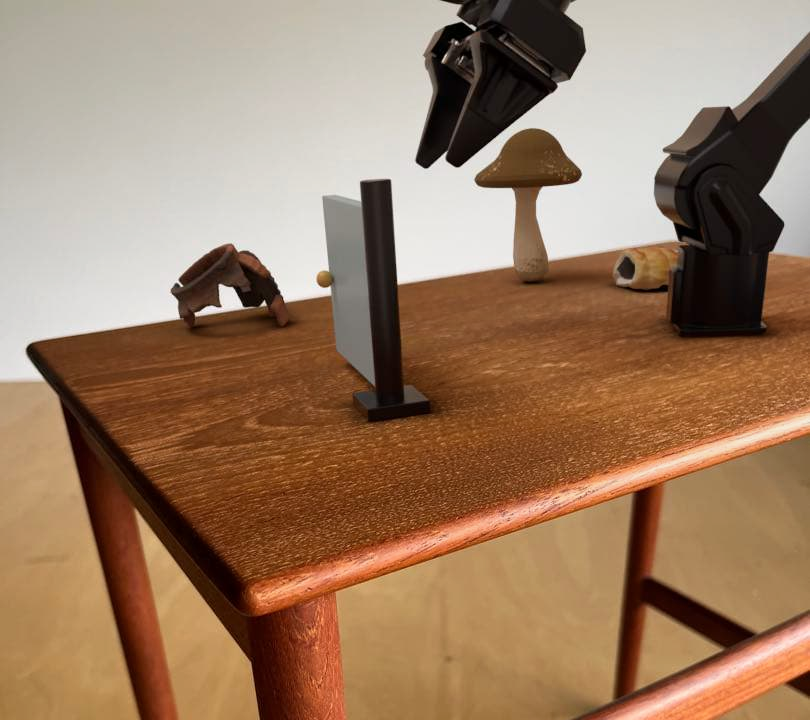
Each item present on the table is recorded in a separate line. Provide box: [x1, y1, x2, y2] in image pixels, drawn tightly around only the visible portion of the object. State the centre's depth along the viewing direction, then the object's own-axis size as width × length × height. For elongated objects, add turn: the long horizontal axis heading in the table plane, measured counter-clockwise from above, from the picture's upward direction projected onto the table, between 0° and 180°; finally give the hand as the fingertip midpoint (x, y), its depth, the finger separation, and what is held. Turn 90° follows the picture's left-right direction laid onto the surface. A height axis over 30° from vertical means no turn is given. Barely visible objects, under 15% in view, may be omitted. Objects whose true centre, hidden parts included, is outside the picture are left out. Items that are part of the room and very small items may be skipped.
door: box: [315, 194, 375, 387], centre depth 59 cm, size 12×2×11 cm, turn 17°
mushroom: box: [473, 127, 583, 283], centre depth 92 cm, size 9×11×15 cm
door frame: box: [351, 178, 431, 422], centre depth 53 cm, size 4×4×14 cm
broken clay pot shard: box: [170, 243, 290, 328], centre depth 83 cm, size 12×10×8 cm
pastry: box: [612, 245, 678, 291], centre depth 88 cm, size 9×7×4 cm
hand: (434, 165), depth 63 cm, fingers open, 9 cm apart
